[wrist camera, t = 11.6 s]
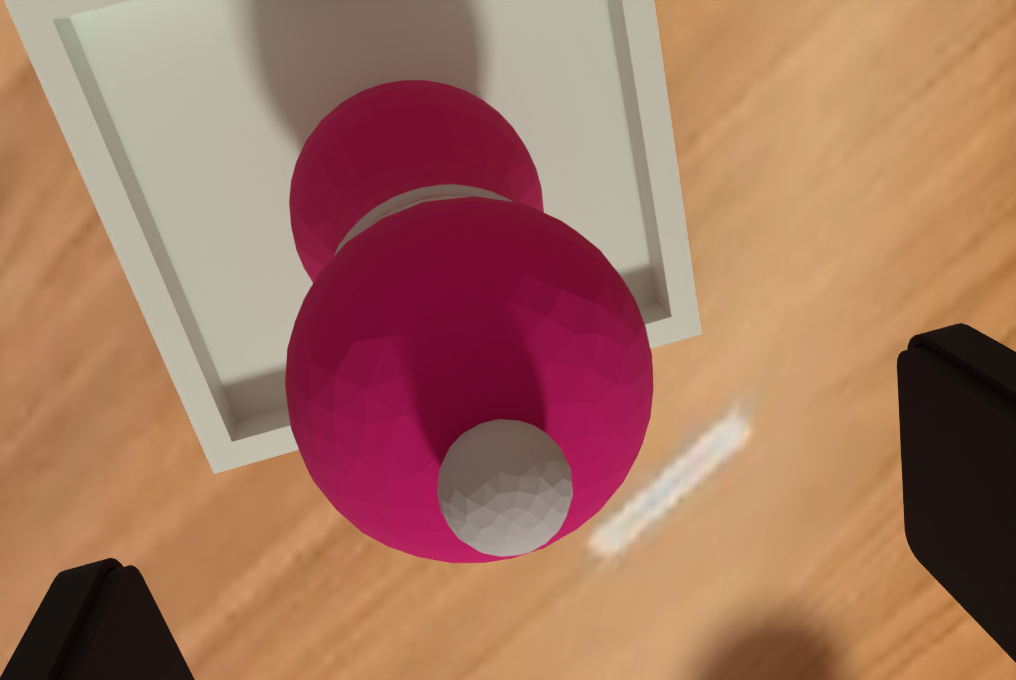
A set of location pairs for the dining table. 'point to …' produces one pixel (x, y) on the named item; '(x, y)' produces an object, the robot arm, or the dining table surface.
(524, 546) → the pepper mill
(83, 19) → the tray
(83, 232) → the dining table surface
